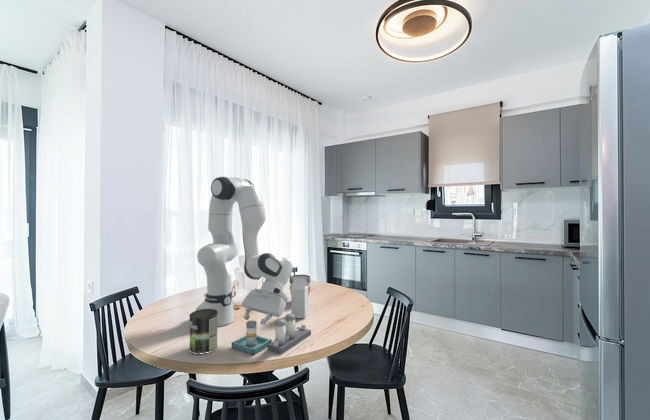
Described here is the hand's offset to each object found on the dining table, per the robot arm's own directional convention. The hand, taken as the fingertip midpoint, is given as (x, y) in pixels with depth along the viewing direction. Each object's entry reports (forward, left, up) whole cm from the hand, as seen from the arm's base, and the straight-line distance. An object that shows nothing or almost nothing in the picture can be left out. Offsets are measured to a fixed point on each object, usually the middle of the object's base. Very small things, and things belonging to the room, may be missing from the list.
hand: (253, 321), depth 118 cm
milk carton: (-2, +35, -10) cm, 37 cm away
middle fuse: (+12, +9, -7) cm, 17 cm away
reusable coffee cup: (-15, +53, -10) cm, 56 cm away
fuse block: (+12, +9, -9) cm, 18 cm away
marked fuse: (0, -2, -9) cm, 9 cm away
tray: (+1, -2, -9) cm, 9 cm away
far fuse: (+12, +3, -7) cm, 14 cm away
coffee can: (-14, -13, -10) cm, 21 cm away
